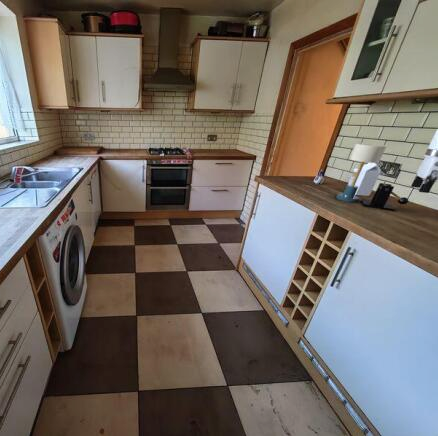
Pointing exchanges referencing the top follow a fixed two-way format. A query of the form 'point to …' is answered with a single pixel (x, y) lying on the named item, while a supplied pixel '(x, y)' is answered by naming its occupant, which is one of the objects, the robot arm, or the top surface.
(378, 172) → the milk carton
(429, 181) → the robot arm
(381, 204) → the switch bracket
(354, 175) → the sprinkles bottle
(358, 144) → the table lamp
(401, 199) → the lamp switch
